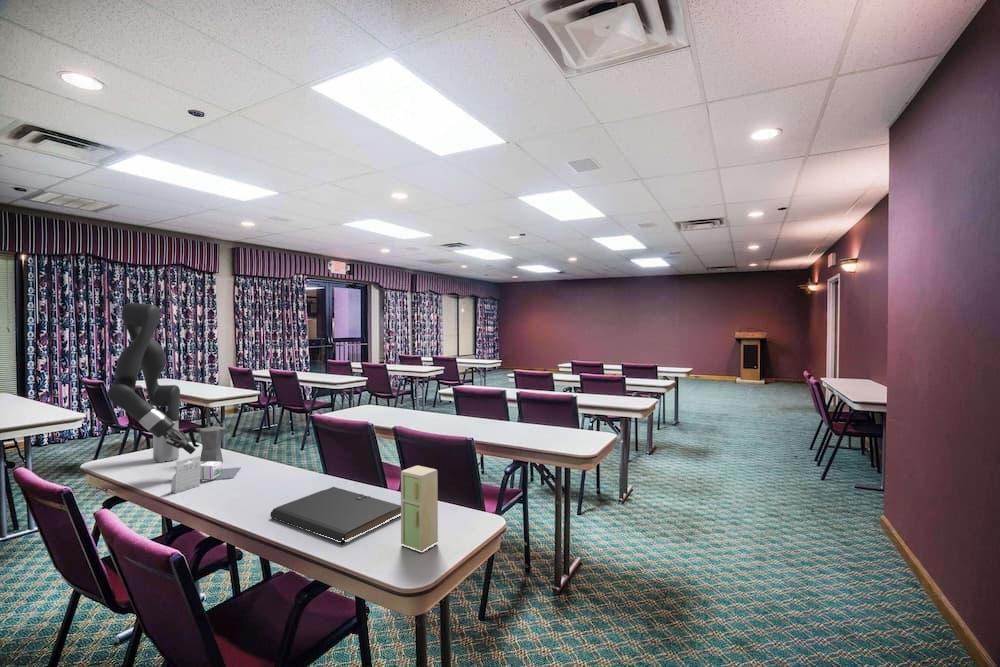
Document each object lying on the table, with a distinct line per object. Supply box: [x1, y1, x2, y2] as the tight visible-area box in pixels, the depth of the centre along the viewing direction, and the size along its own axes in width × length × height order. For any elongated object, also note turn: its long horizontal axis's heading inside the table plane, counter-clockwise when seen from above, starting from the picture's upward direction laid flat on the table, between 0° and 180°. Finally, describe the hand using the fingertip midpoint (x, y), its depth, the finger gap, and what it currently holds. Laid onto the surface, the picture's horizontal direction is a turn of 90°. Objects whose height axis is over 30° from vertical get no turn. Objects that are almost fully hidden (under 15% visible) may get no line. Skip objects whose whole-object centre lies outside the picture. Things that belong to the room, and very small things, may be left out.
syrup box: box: [175, 460, 223, 481], centre depth 182 cm, size 6×6×14 cm
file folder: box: [269, 486, 401, 543], centre depth 147 cm, size 33×4×24 cm
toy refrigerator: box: [400, 465, 439, 551], centre depth 128 cm, size 8×7×21 cm
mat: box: [200, 466, 241, 482], centre depth 186 cm, size 18×14×1 cm
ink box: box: [170, 455, 201, 494], centre depth 170 cm, size 3×9×12 cm, turn 160°
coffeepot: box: [188, 421, 229, 463], centre depth 202 cm, size 15×9×18 cm, turn 103°
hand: (193, 451), depth 184 cm, fingers closed
